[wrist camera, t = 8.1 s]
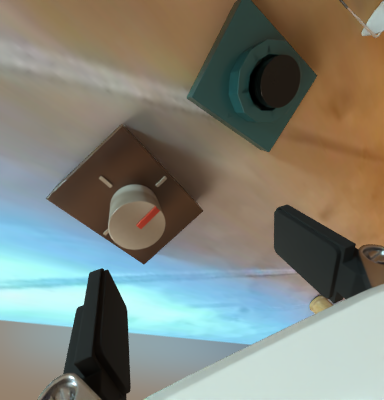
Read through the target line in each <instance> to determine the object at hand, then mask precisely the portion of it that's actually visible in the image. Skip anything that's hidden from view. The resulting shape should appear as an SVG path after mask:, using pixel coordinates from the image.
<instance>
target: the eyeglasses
mask: <svg viewBox="0 0 384 400" xmlns="http://www.w3.org/2000/svg"><path fill="white" fill-rule="evenodd" d="M339 1H340V2H341V3H342V4H343V5H344V6H345V7H346V9H348V10H349V11H350V12H351V13H352V15H353V16H354V17H355V18H356V19H357V20H358V21H359V22H360V23H361V24H362V25H363V26H364V28H363V30H362V33H361V35H362V36H370V35H372V36H373V37H374V38H377V37H379V36H380V34H381V32H383V31H384V0H383V1H382V2H381V3H380V5H379V6H378V7H377V9H376V10H375V11H374V13H373V14H372V16H371V17H370V19H369V20H368V22H367V23H366V25H365V24H364V23H363V22H362V21H361V20H360V19H359V18H358V17H357V16H356V15H355V14H354V13H353V12H352V11H351V10H350V9H349V8H348V6H347V5H346V4H345V3H344V2H343V0H339ZM375 34H378V35H375Z"/></svg>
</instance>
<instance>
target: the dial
mask: <svg viewBox="0 0 384 400" xmlns="http://www.w3.org/2000/svg"><path fill="white" fill-rule="evenodd" d="M165 224H166V223H165V217H164V214H163V212H162V209H161V207H160V205H159V202H158V200H157V197H156V195H155V194H154V192H153V191H152V190H150V189H149V188H147V187H145V186H143V185H138V184H132V185H127V186H124V187H122V188H121V189H119V190H118V191H117V192H116V193H115V194H114V195H113V197H112V199H111V202H110V212H109V222H108V230H109V234H110V236H111V238H112V239H113V241H114V242H115V243H116V244H118V245H119V246H121V247H123V248H126V249H132V250H137V249H143V248H146V247H149V246H151V245H153V244H154V243H155V242H157V241H158V240H159V239H160V237H161V236H162V234H163V232H164V230H165Z"/></svg>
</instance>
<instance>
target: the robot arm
mask: <svg viewBox="0 0 384 400" xmlns="http://www.w3.org/2000/svg"><path fill="white" fill-rule="evenodd" d="M355 245H356V244H355V243H353V242H351V241H350V240H348V239H346V238H344V237H343V236H341V235H339V234H337V233H336V232H334V231H332V230H331V229H329V228H327V227H325V226H324V225H322V224H320V223H319V222H317V221H315V220H313V219H312V218H310V217H308V216H306V215H305V214H303V213H301V212H300V211H298V210H296V209H294V208H293V207H291V206H289V205H284V206H281V207H278V208H277V209H276V211H275V213H274V249H275V251H276V253H277V254H278V255H279V256H280V257H281V258H282V259H283V260H285V261H286V262H287V263H288V264H289V265H290V266H291V267H292V268H293V269H294V270H295V271H296V272H297V273H299V274H300V275H301V276H302V277H303V278H304V279H305V280H306V281H307V282H308V283H309V284H310V285H311V286H313V287H314V288H315V289H316V290H317V291H318V292H319V293H320V294H321V295H322V296H323V297H325V298H328V299H330V300H331V301H332V302H333V303H336V302H338V301H340V300H342V299H343V297H344V298H345V299H346V300H344V301H341V302H339V303H337V304H335V305H333V306H331V307H329V308H327V309H325V310H323V311H321V312H318V313H316V314H314V315H312V316H310V317H308V318H306V319H304V320H302V321H300V322H298V323H295V324H293V325H291V326H289V327H287V328H285V329H283V330H281V331H279V332H277V333H275V334H273V335H271V336H269V337H267V338H265V339H262V340H260V341H258V342H256V343H254V344H252V345H250V346H248V347H246V348H244V349H242V350H240V351H238V352H236V353H234V354H232V355H230V356H228V357H226V358H224V359H222V360H220V361H218V362H216V363H214V364H211V365H209V366H208V367H205V368H203V369H201V370H199V371H197V372H195V373H193V374H191V375H189V376H187V377H185V378H183V379H181V380H180V381H178V382H176V383H174V384H172V385H170V386H168V387H166V388H164V389H162V390H160V391H158V392H156V393H154V394H152V395H150V396H149V397H147V398H145V399H144V400H384V247H383V246H380V245H373V244H368V245H363V246H361V247H360V248H359V250H358V249H357V248H355ZM128 342H129V341H128V318H127V308H126V305H125V303H124V301H123V299H122V297H121V295H120V293H119V291H118V289H117V287H116V285H115V283H114V281H113V279H112V277H111V275H110V273H109V271H108V270H105V271H104V269H103V268H102V269H99V270H96V271H93V272H90V273H89V278H88V284H87V290H86V295H85V301H84V305H83V306H80V307H78V309H77V311H76V314H75V319H74V324H73V329H72V334H71V339H70V344H69V349H68V353H67V358H66V363H65V368H64V373H63V375H61V376H59V377H57V378H56V379H54V380H53V381H52V382H51V383H50V384H49V385H48V386H47V387H46V388H45V389H44V390H43V392H42V393H41V394H40V396H39V398H38V399H37V400H126V394H127V393H129V392H130V365H129V343H128Z"/></svg>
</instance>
